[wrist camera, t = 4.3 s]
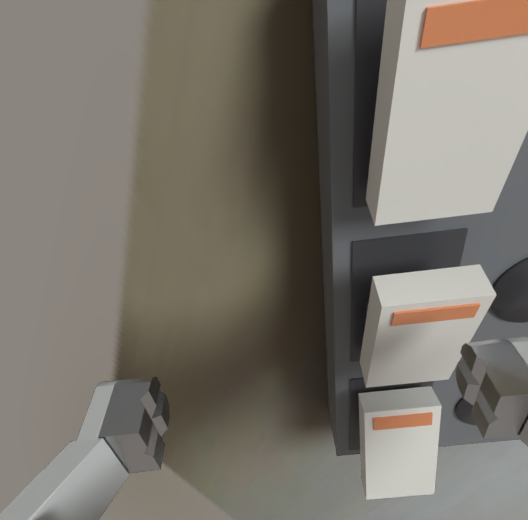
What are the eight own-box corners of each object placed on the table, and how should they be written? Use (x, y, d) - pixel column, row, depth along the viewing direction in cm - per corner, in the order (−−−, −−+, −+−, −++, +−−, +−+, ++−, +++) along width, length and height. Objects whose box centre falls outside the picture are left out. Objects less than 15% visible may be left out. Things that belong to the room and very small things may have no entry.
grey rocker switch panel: (501, 393, 25) (534, 448, 22) (328, 409, 26) (338, 466, 23) (715, -130, 11) (888, -166, 8) (309, -67, 11) (330, -78, 8)
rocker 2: (475, 186, 12) (493, 213, 11) (365, 199, 12) (375, 227, 12) (564, -56, 8) (605, -40, 7) (390, -30, 8) (408, -11, 7)
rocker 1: (425, 472, 21) (434, 495, 20) (361, 477, 21) (366, 501, 20) (431, 386, 18) (442, 406, 17) (358, 393, 19) (364, 414, 17)
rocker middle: (438, 353, 17) (449, 381, 16) (359, 361, 17) (366, 389, 16) (480, 264, 13) (497, 297, 12) (372, 276, 13) (382, 309, 12)
